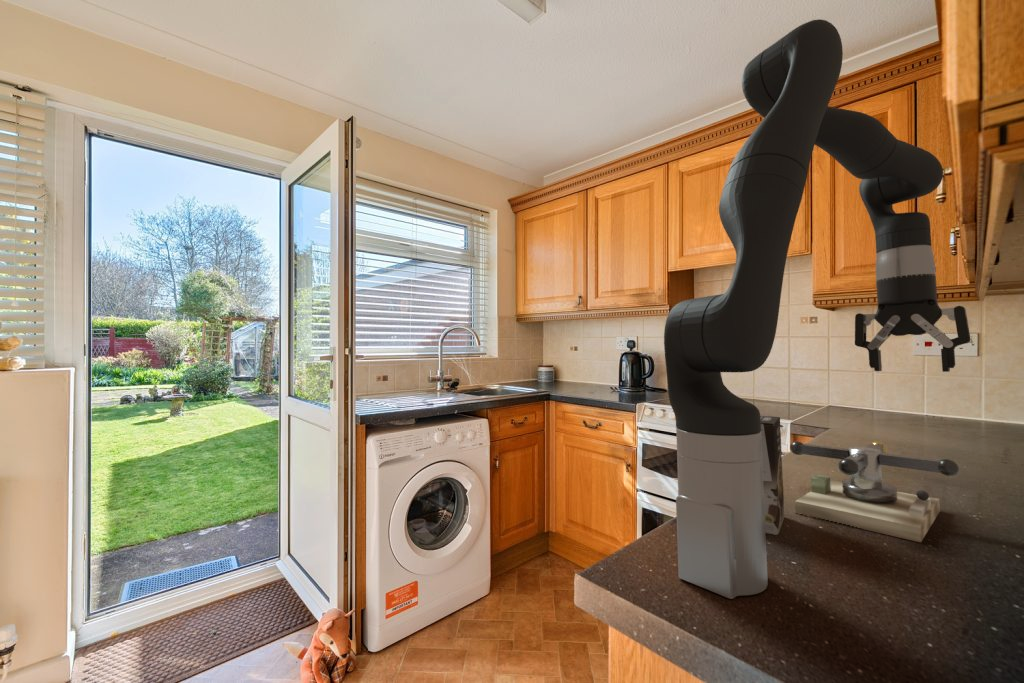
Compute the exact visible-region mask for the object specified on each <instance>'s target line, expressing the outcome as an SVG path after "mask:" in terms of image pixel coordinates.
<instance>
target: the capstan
mask: <svg viewBox="0 0 1024 683" xmlns="http://www.w3.org/2000/svg"><path fill="white" fill-rule="evenodd" d="M789 449H790V450H789V451H790V452H791V453H792V454H794V455H797V456H801V455H805V456H813V457H820V458H821V457H822V458H827V459H828V458H829V459H835V460H840V461H838V465H837V466H838V468H839V471H840V472H841V473H842V474H844V475H846V476H850V477H849V478H845V479H843V480H841V482H842V489H843V493H844V494H845V495H847V496H850V497H853V498H856V499H860V500H866V501H872V502H895V501H897V492H898V488H897V486H895V485H893V484H890V483H888V482H883V476H882V474H883V473H882V466H889V467H895V468H902V469H909V470H918V471H923V472H924V471H925V472H932V473H939V474H941V475H943V476H947V477H953V476H955V475H957V474H958V473H959V472H960V467H959V465H958V464H957V462H955V461H954V460H953V459H950V458H941V459H935V458H926V457H919V456H918V457H917V456H911V455H909V456H908V455H902V454H893V453H887V452H888V446H887V445H886V444H885V443H884V442H882V441H879V440H878V441H877V440H876V441H873V442H871V443H870V444H868V445H867V446H850V447H848V448H842V447H835V446H834V447H833V446H828V445H827V446H826V445H819V444H810V443H804V442H801V441H797V440H796V441H793V442H791V444H790V445H789Z"/></svg>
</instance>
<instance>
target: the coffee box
mask: <svg viewBox="0 0 1024 683" xmlns="http://www.w3.org/2000/svg"><path fill="white" fill-rule="evenodd" d="M760 417H761V439H762V465H763V489H764V512H765V534H770V535H773V536H774V535H775V536H778V535H779V533H780V531H781V528H782V525H783V523H784V519H785V496H784V477H783V474H784V473H783V457H782V456H783V452H782V436H781V435H782V434H781V433H782V432H781V416H772V415H771V416H769V415H768V416H767V415H760Z"/></svg>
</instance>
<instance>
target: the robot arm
mask: <svg viewBox="0 0 1024 683" xmlns="http://www.w3.org/2000/svg"><path fill="white" fill-rule="evenodd" d="M843 55H844V54H843V44H842V39H841V35H840V33H839V31H838V29H837V28H836V26H835V25H834V24H833V23H832V22H830V21H828V20H825V19H813V20H810V21H807V22H805V23H802V24H800V25H798V26H797V27H795V28H794V29H792V30H791V31H789V32H788V33H787V34H786V35H784V36H782V37H781V38H779V39H778V40H777V41H775V42H774V43H773V44H771V45H770V46H768V47H767V48H765V49H763V50H762V51H761V52H759V53H758V54H757V55H756V56H755V57H754V58H753V59H751V60H750V61H749V62H748V63H747V64H746V66H745V67H744V69H743V71H742V75H741V88H742V93H743V95H744V98H745V100H746V102H747V103H748V104H749V106H750V107H751V108H752V109H753V110H754V111H755V112H756V113H757V114H759V115H760V116H761V117H763V119H762V121H760V123H759V124H758V126H757V127H756V128H755V129H754V130H753V131H752V133H751V134H750V135H749V137H748V138H747V139H746V141H744V143H743V144H742V146H741V148H739V150H738V152H737V153H736V155H735V157H734V158H733V160H732V161H731V164H730V167H729V170H728V172H727V175H726V178H725V181H724V184H723V187H722V192H721V194H720V197H719V204H718V205H719V206H718V214H719V218H720V222H721V225H722V228H723V229H724V232H725V233H726V235H727V237H728V239H729V240H730V242H731V244H732V246H733V248H734V250H735V256H736V258H735V259H736V260H735V264H734V265H735V266H734V271H733V273H732V274H733V275H732V278H731V280H730V281H731V282H730V284H729V286H728V289H727V290H726V291H725V292H724V293H720V294H714V295H709V296H702V297H697V298H690V299H685V300H683V301H680V302H678V303H677V304H675V305H674V306H673V307H672V308H671V310H670V311H669V313H668V315H667V317H666V320H665V325H664V332H663V347H664V350H663V351H664V360H665V372H666V383H667V394H668V400H669V404H670V406H671V410H672V411H673V414H674V417H675V429H676V435H675V436H676V458H677V459H676V461H677V462H676V464H677V465H676V466H677V468H676V469H677V489H678V490H677V491H678V492H677V493H678V496H676V498H675V505H676V506H675V508H676V509H675V510H676V511H675V512H676V513H675V514H676V536H677V537H676V538H677V539H676V540H677V542H676V543H677V565H678V568H677V569H678V570H677V571H678V578H679V579H681V580H683V581H685V582H688V583H691V584H693V585H695V586H697V587H700V588H703V589H705V590H706V591H707V590H708V591H710V592H713V593H715V594H718V595H720V596H722V597H724V598H727V599H730V600H732V599H734V598H736V597H739V596H740V597H741V596H753V595H757V594H760V593H762V592H764V591H765V590H766V589H767V587H768V584H769V582H768V561H767V560H768V558H767V541H766V540H767V539H766V535H767V534H766V533H765V512H764V489H763V465H762V439H761V417H760V416H761V413H760V410H759V409H758V407H757V406H756V405H755V404H753V403H751V402H749V401H747V400H745V399H743V398H741V397H739V396H737V395H736V394H734V393H733V392H731V391H730V390H729V388H727V387H726V385H725V384H724V381H723V377H722V373H750V372H754V371H756V370H758V369H760V368H761V367H762V366H763V365H764V363H766V361H767V359H768V358H769V356H770V354H771V352H772V349H773V345H774V343H775V342H774V341H775V338H776V334H777V328H778V320H779V313H780V306H781V296H782V289H783V282H784V275H785V268H786V262H787V257H788V252H789V249H790V243H791V240H792V234H793V230H794V226H795V222H796V219H797V215H798V213H799V210H800V206H801V202H802V199H803V195H804V190H805V186H806V183H807V179H808V174H809V170H810V169H809V168H810V163H811V158H812V154H813V152H814V149H815V146H816V147H817V148H820V150H823V151H824V152H826V153H827V154H828V155H829V156H830V157H832V158H833V159H834V160H835V161H837V163H838V164H839V165H841V167H842V168H844V169H845V170H847V172H848V173H850V174H851V175H852V176H853V177H855V178H857V179H860V183H859V187H858V189H859V195H860V199H861V200H862V202H863V205H864V207H865V209H866V211H867V214H868V216H869V218H870V222H871V224H872V227H873V230H874V235H875V236H874V237H875V251H876V252H875V253H876V260H875V268H874V269H875V283H876V297H877V299H876V300H877V301H876V302H877V310H876V312H875V313H865V314H864V313H860V312H859V313H856V314H855V317H854V345H855V346H856V347H859V348H863V349H866V350H867V351H868V362H869V367H870V368H871V369H873V370H874V372H882V371H883V369H882V368H883V366H882V365H883V364H882V352H881V351H882V350H881V349H879V348H880V347H881V346H882V345H883V344H885V342H886V341H887V340H888V339H890V337H891V336H894V337H902V336H904V337H905V336H908V335H911V336H922V335H925V334H926V333H927V334H928V335H929V336H930V337H931V338H933V339H934V340H935V341H936V342H938V343H939V344H940V345H941V346H942V348H941V349H940V355H941V356H940V357H941V366H942V367H941V368H942V373H944V372H945V373H949V372H950V371H951V369H954V368H955V366H956V353H955V349H956V348H957V347H959V346H962V345H964V344H968V343H970V342H971V333H970V327H969V322H968V316H967V315H968V314H967V310H966V308H965V307H964V306H963V305H957V306H954V307H948V308H941V307H940V306H939V303H938V292H937V288H938V287H937V274H936V273H937V266H936V263H935V255H934V252H933V247H932V237H931V236H932V235H931V221H930V217H929V215H928V214H926V213H924V212H920V211H909V212H900V213H898V212H897V213H896V211H895V210H894V209H893V208H894V206H893V205H895V204H896V205H897V204H898V203H899V204H900V203H903V202H907V201H911V200H913V199H917V198H921V197H924V196H927V195H929V194H931V193H933V192H934V191H935V190H936V189H937V188H938V187H939V186H940V184H941V183H942V180H943V177H944V168H943V165H942V163H941V162H940V160H939V159H938V158H937V157H936V156H935V155H934V154H933V153H931V152H929V151H928V150H926V149H923V148H922V147H919V146H916V145H913V144H911V143H908V142H906V141H903V140H901V139H898V138H897V137H896V136H894V134H893V133H891V131H890V130H889V129H888V128H887V127H886V126H885V125H884V124H883V123H882V122H881V121H880V120H878V119H877V118H876V117H874V116H871V115H869V114H867V113H864V112H860V111H856V110H851V109H846V108H838V107H833V106H829V103H830V102H831V99H832V96H833V95H834V92H835V88H836V87H837V84H838V80H839V79H840V78H839V77H840V74H841V71H842V66H843V65H842V64H843ZM942 316H946V317H947V318H948V320H950V321H952V322H953V321H954V322H955V328H956V333H957V337H955V338H952V339H951V338H950V337H948V336H947V335H946V334H945V333H944V332H943V331H942V330H940V329H939V328H938V327H936V325H935V324H936V323H937V322H938V321H939V320H940V319H941V318H942ZM873 321H876V322H877V323H878V324H879V325H880V326H882V328H881V329H880V330H879V331H878V332H877V333H876V335H875V336H874V337H873V339H872V340H871V341H868V340H867V328H868V327H869V326H870V325H871V324H872V322H873Z"/></svg>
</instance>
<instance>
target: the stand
mask: <svg viewBox="0 0 1024 683" xmlns="http://www.w3.org/2000/svg"><path fill="white" fill-rule="evenodd" d="M810 481H811V490H810V491H808V492H807V493H805V494H804V495H803V496H801V497H799V498H798V499H796V500H795V501H794V503H795V504H794V508H795V514H796V513H801V514H804V515H809V516H813V517H817V518H821V519H825V520H824V521H826V520H829V521H828V522H830V521H833V522H832V523H834V522H837V523H836V524H839V523H842V524H841V525H843V524H846V525H845V526H847V525H850V526H849V527H852V526H854V527H853V528H856V527H857V529H860V528H861V529H862V530H865V531H870V532H874V533H877V534H883V535H888V536H892V537H896V538H900V539H904V540H909V541H913V542H917V543H922V542H923V540H924V539H925V537H926V535H927V533H928V531H929V530H930V528H931V526H932V525H933V524H934V522H935V520H936V518H938V515H939V514H940V511H941V509H940V508H941V507H940V506H941V505H940V498H936V497H931V496H930V494H929V493H928V492H927V491H926V490H918V491H916V494H914V493H907V492H901V491H897V501H895V502H872V501H866V500H860V499H856V498H853V497H850V496H847V495H845V494H844V493H843V489H842V481H837V480H831V477H830V476H827V475H822V474H821V475H819V474H816V475H814V476H812V477H811V478H810ZM804 515H803V516H804ZM809 516H808V517H809ZM813 517H812V518H813ZM817 518H816V519H817ZM821 519H820V520H821Z"/></svg>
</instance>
